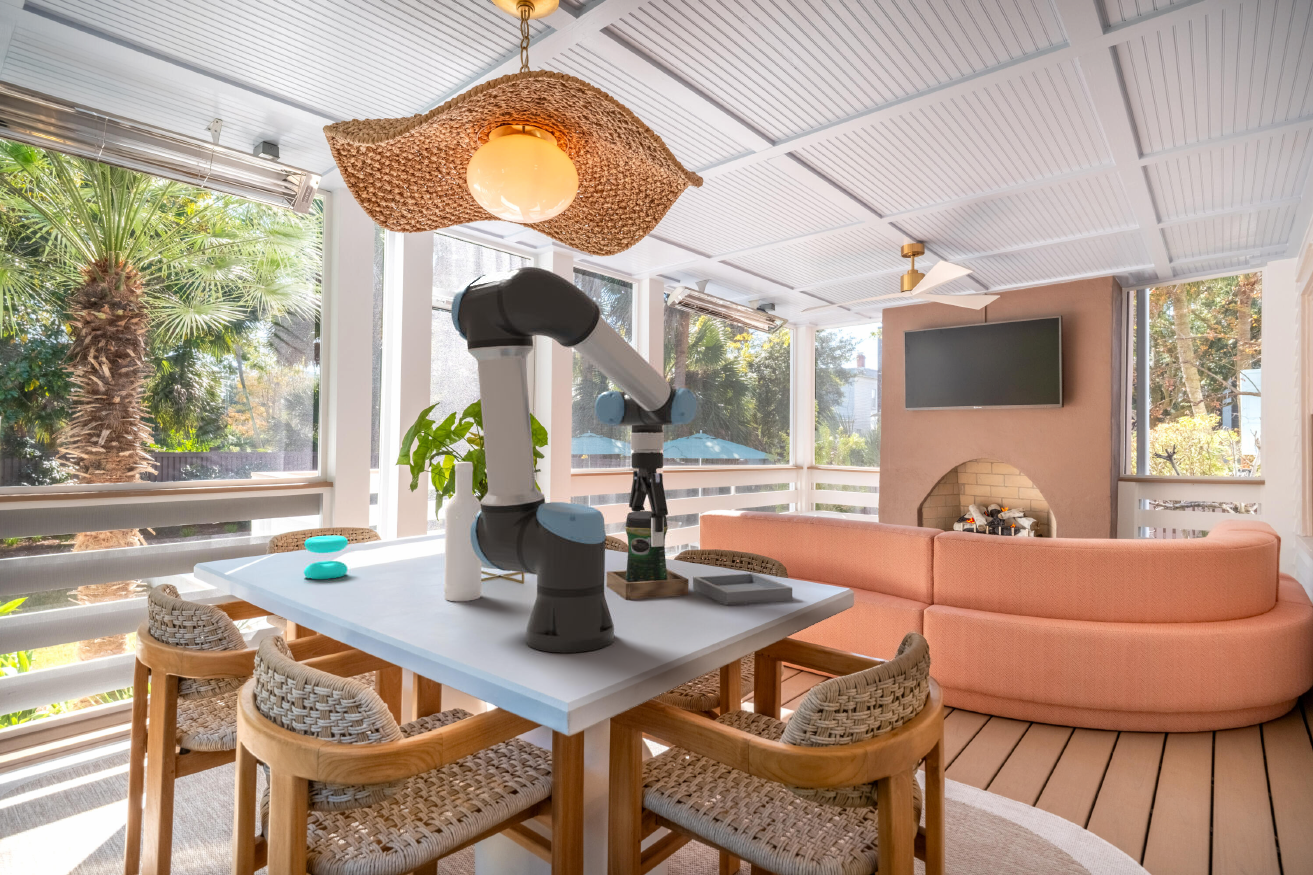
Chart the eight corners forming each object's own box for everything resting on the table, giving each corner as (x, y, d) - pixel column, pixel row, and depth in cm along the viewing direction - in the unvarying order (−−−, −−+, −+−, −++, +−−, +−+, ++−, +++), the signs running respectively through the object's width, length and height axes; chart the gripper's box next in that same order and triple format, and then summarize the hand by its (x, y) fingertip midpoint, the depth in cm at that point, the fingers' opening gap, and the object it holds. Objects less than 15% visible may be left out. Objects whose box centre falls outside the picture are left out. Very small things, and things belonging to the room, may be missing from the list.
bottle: (474, 592, 155) (476, 461, 155) (486, 598, 148) (487, 462, 148) (439, 596, 150) (440, 461, 151) (449, 603, 144) (451, 462, 144)
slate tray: (726, 605, 143) (726, 592, 143) (693, 588, 160) (693, 576, 160) (792, 600, 148) (792, 587, 148) (752, 584, 165) (753, 572, 165)
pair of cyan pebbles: (302, 536, 174) (345, 533, 179) (302, 575, 174) (344, 571, 179) (306, 541, 165) (350, 538, 171) (305, 581, 165) (350, 577, 171)
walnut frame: (625, 599, 148) (625, 583, 148) (606, 586, 162) (606, 571, 162) (688, 594, 153) (688, 579, 153) (664, 582, 167) (664, 567, 167)
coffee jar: (671, 588, 160) (672, 510, 160) (659, 595, 152) (659, 513, 152) (634, 585, 163) (634, 508, 164) (620, 591, 156) (621, 511, 156)
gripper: (682, 452, 148) (682, 549, 148) (644, 450, 171) (644, 534, 171) (650, 452, 145) (650, 551, 145) (616, 450, 169) (616, 535, 169)
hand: (647, 542), depth 158 cm, fingers open, 13 cm apart
